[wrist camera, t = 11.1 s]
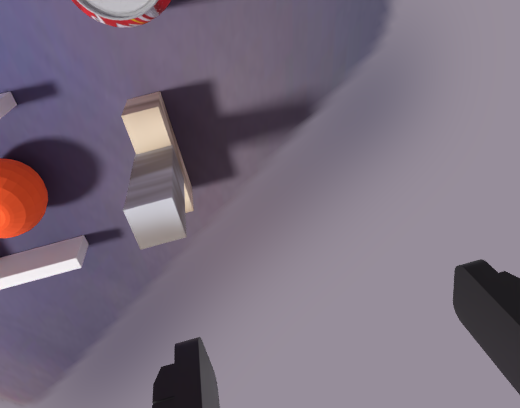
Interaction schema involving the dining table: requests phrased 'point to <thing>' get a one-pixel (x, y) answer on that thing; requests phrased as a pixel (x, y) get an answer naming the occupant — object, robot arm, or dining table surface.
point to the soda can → (122, 11)
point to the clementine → (20, 198)
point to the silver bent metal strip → (155, 174)
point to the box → (41, 258)
